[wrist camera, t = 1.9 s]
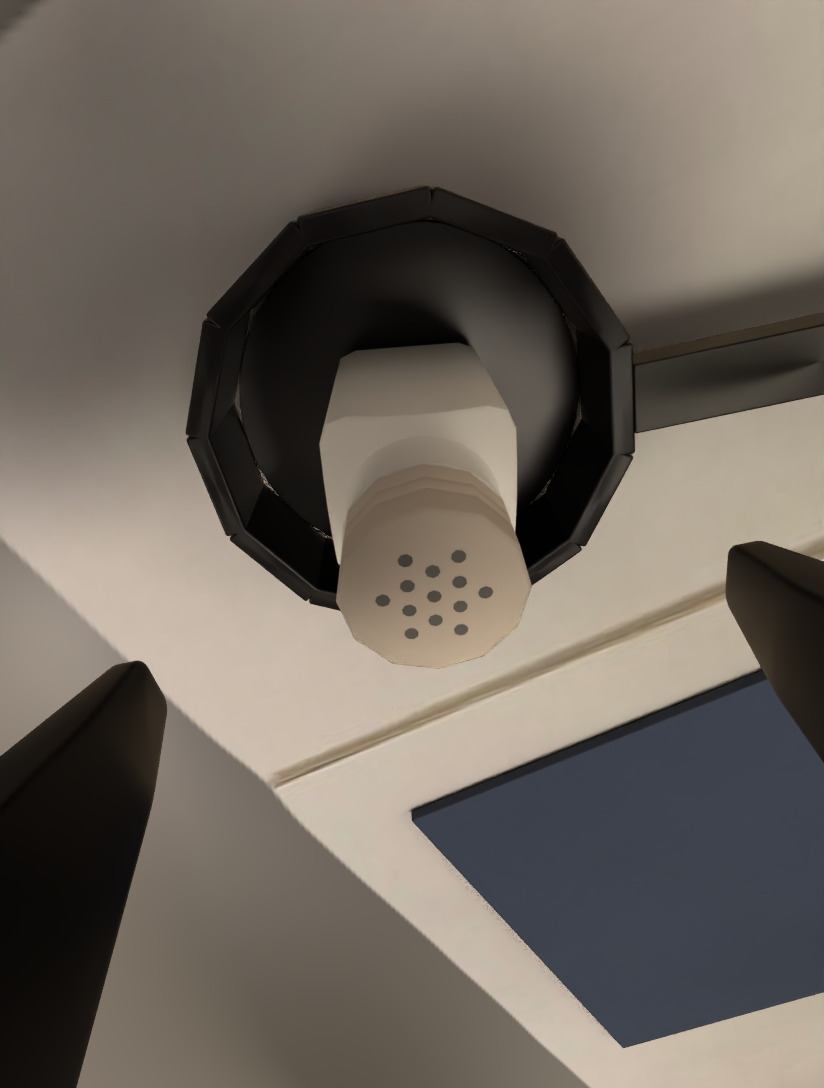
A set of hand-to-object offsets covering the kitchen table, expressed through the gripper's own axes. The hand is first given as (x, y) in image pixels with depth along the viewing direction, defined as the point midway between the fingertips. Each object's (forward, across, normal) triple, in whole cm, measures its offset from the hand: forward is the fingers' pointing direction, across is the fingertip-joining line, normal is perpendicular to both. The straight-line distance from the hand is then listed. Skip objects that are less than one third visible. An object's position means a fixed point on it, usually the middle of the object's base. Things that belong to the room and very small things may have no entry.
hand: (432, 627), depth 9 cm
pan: (+10, -5, 0) cm, 11 cm away
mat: (+10, -9, +29) cm, 32 cm away
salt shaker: (+10, 0, 0) cm, 11 cm away
